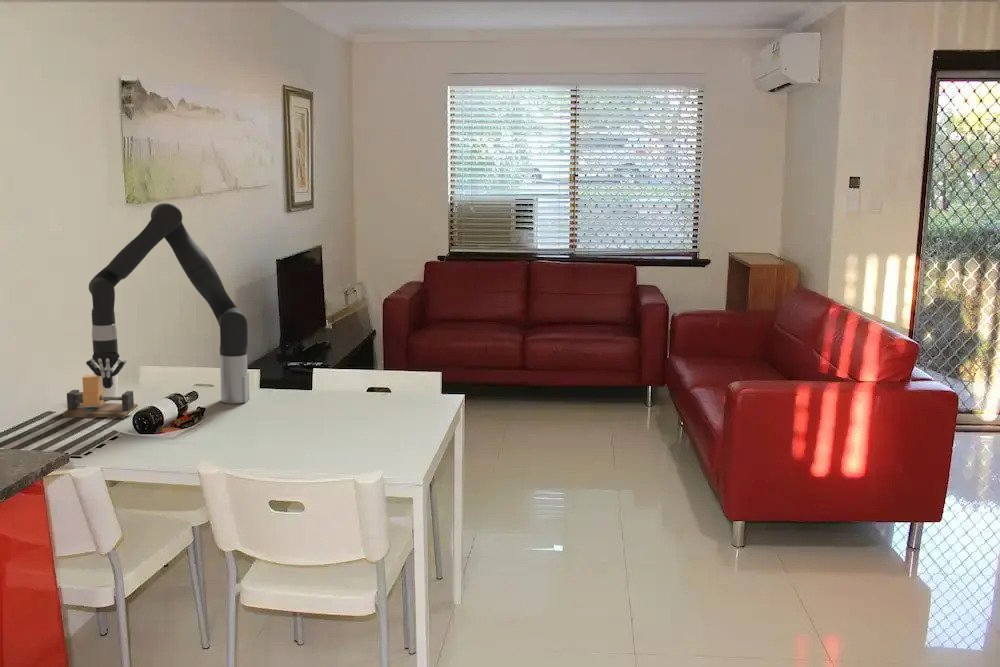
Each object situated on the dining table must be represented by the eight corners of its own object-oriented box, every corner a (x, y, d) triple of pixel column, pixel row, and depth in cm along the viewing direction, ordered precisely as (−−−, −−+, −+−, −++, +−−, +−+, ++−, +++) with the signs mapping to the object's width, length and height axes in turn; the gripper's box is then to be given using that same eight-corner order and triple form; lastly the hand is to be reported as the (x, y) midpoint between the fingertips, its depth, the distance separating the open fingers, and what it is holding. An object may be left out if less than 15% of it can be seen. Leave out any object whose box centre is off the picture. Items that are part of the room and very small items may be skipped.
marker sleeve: (103, 402, 305) (102, 374, 303) (98, 406, 301) (96, 378, 299) (88, 402, 305) (86, 374, 303) (83, 405, 300) (81, 377, 298)
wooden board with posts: (137, 408, 310) (136, 388, 308) (124, 418, 298) (123, 397, 296) (78, 406, 309) (77, 387, 307) (63, 416, 297) (61, 396, 296)
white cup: (90, 399, 318) (88, 372, 316) (104, 393, 325) (103, 367, 323) (109, 401, 316) (108, 374, 314) (123, 395, 324) (122, 368, 322)
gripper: (129, 335, 302) (132, 385, 305) (89, 334, 301) (92, 384, 305) (120, 340, 295) (123, 391, 298) (79, 339, 294) (83, 390, 298)
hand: (108, 387), depth 301 cm, fingers closed
